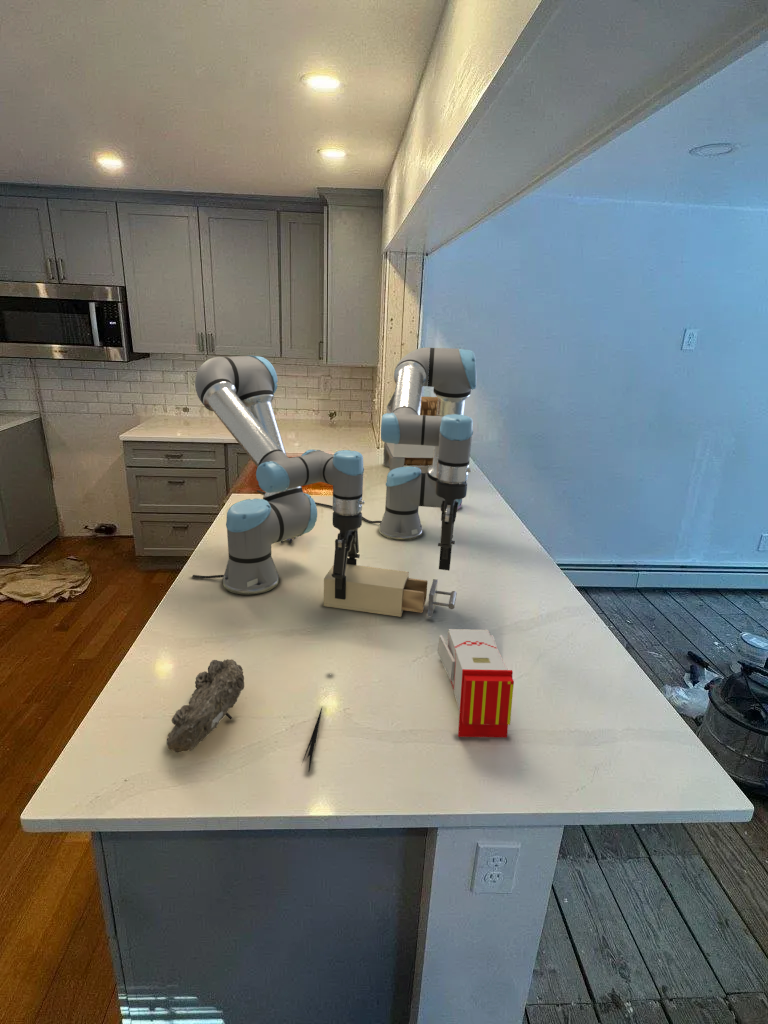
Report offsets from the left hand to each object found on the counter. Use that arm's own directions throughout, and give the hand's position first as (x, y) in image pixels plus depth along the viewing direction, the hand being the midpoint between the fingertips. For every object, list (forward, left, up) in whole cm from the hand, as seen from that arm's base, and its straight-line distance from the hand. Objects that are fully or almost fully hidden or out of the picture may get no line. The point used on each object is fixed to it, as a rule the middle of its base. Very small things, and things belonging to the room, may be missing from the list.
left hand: (345, 589), depth 153 cm
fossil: (-9, -52, -3) cm, 53 cm away
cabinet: (+6, 0, -3) cm, 7 cm away
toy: (+37, -29, -3) cm, 47 cm away
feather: (+11, -47, -3) cm, 48 cm away
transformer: (-7, +131, -3) cm, 132 cm away
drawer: (+17, +1, -2) cm, 17 cm away
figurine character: (-32, +34, -3) cm, 47 cm away
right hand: (+26, +2, +10) cm, 28 cm away
